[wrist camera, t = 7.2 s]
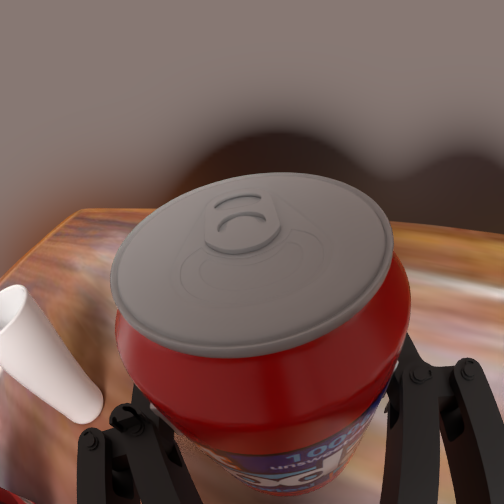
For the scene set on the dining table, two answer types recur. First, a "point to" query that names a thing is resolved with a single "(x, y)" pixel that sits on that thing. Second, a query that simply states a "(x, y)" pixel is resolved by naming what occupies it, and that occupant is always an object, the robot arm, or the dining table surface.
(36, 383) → the drinking glass
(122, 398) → the dining table surface
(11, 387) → the dining table surface
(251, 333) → the soda can
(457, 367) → the robot arm
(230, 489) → the dining table surface
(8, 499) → the canned food
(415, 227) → the dining table surface
